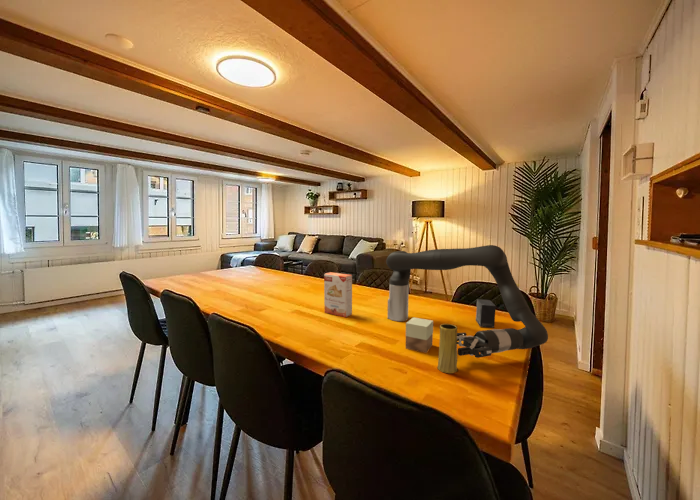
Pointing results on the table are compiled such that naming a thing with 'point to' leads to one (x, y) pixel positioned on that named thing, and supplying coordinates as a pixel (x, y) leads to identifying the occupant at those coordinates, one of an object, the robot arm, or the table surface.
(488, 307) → the small box
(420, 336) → the tower top block
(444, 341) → the vase
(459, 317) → the table surface
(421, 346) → the tower base block
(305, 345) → the table surface
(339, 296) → the cracker box
